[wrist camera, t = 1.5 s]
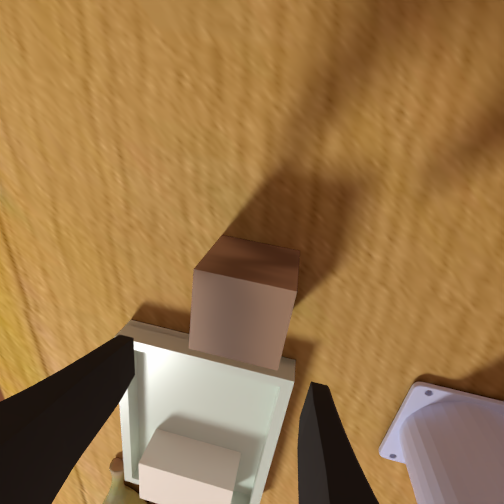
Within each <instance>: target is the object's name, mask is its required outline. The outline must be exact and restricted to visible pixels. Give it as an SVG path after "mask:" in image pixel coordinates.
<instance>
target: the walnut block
mask: <svg viewBox="0 0 504 504" xmlns="http://www.w3.org/2000/svg"><path fill="white" fill-rule="evenodd" d="M299 257H300V251H298V250H294V249H289V248H284V247H279V246H274V245H269V244H264V243H259V242H254V241H249V240H244V239H239V238H234V237H229V236H224V235H222V236H221V237H220V238H219V239H218V240H217V242H216V243H215V244H214V245H213V246H212V248H211V249H210V250H209V251H208V252H207V254H206V255H205V256H204V257H203V259H202V260H201V261H200V262H199V263H198V265H197V266H196V267H195V268H194V274H193V289H192V304H191V319H190V334H189V349H193V350H197V351H201V352H205V353H209V354H213V355H217V356H221V357H225V358H229V359H233V360H237V361H241V362H245V363H249V364H253V365H257V366H261V367H265V368H269V369H273V370H277V371H278V368H279V363H280V359H281V355H282V351H283V347H284V343H285V339H286V335H287V331H288V327H289V323H290V319H291V315H292V311H293V307H294V302H295V298H296V294H297V287H298V272H299Z"/></svg>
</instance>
